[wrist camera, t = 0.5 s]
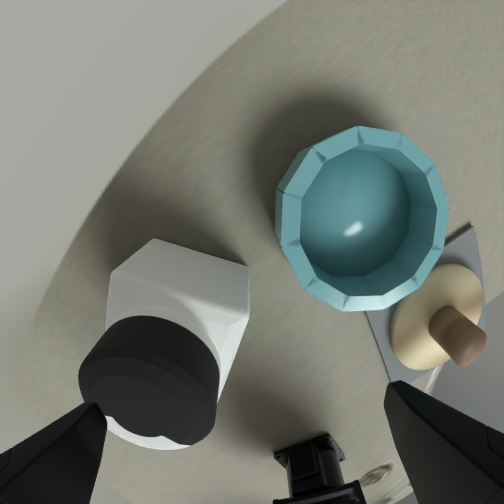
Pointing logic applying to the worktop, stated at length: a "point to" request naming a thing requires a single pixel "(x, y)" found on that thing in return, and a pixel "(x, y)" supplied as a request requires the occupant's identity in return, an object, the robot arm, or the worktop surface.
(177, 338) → the medicine bottle
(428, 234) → the bowl
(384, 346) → the mat
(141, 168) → the worktop surface
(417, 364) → the lid
